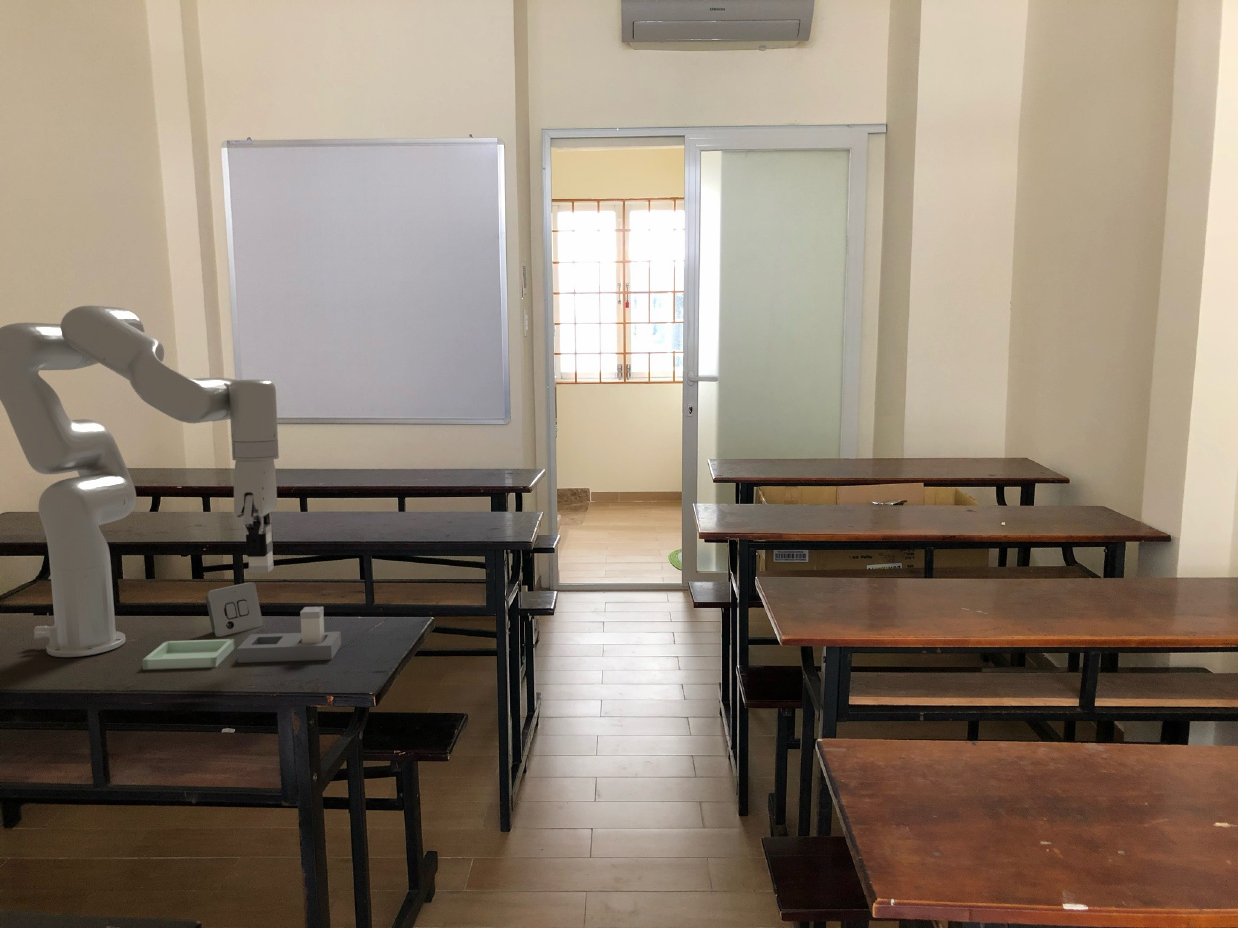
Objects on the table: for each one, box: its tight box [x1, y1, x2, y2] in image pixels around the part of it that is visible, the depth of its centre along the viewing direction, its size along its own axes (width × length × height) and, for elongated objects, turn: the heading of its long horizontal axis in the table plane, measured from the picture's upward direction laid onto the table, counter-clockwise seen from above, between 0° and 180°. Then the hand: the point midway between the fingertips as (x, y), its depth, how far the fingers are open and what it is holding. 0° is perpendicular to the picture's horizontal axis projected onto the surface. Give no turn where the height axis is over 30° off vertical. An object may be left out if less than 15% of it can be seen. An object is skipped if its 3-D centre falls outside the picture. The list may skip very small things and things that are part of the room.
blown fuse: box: [248, 523, 274, 574], centre depth 158 cm, size 3×3×8 cm
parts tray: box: [142, 638, 235, 671], centre depth 158 cm, size 12×10×2 cm
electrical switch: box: [205, 581, 264, 638], centre depth 175 cm, size 9×5×9 cm, turn 141°
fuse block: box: [236, 631, 342, 664], centre depth 161 cm, size 16×8×3 cm, turn 96°
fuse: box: [299, 606, 325, 643], centre depth 161 cm, size 3×3×8 cm
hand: (260, 552), depth 158 cm, fingers closed on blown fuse, 3 cm apart
